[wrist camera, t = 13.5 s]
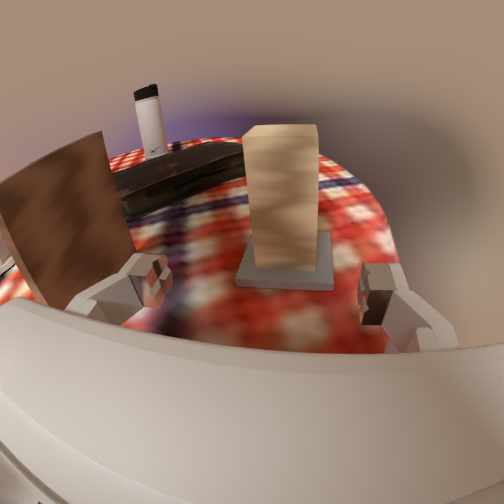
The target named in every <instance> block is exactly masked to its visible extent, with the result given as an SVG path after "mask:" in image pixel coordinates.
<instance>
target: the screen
mask: <svg viewBox="0 0 504 504" xmlns="http://www.w3.org/2000/svg"><path fill="white" fill-rule="evenodd" d="M0 232H1V235H2V237H3V239H4V241H5V243H6V245H7V248H8V250H9V252H10V254H11V256H12V258H13V259H14V261H15V263H16V265H17V267H18V269H19V271H20V272H21V274H22V276H23V278H24V280H25V281H26V283H27V285H28V286H29V288H30V290H31V291H32V293H33V295H34V296H35V298H36V299H37V301H38V302H39V303H41V304H44V305H47V306H50V307H53V308H56V309H59V310H63V311H64V310H65V308H66V307H67V306H68V304H69V303H70V302H71V301H72V299H73V298H74V297H75V296H76V295H77V294H79V293H81V292H82V291H84V290H86V289H88V288H89V287H91V286H93V285H95V284H97V283H98V282H100V281H102V280H104V279H106V278H108V277H109V276H111V275H113V274H117V273H118V272H119V271H120V270H121V268H122V267H123V266H124V265H125V264H126V262H127V261H128V260H129V259H130V258H131V256H132V255H133V254H134V253H137V251H136V248H135V245H134V243H133V240H132V237H131V234H130V231H129V228H128V225H127V222H126V219H125V216H124V213H123V210H122V207H121V203H120V200H119V197H118V193H117V190H116V186H115V183H114V179H113V176H112V172H111V168H110V164H109V160H108V157H107V153H106V148H105V144H104V139H103V135H102V131H100V132H96V133H93V134H90V135H87V136H85V137H83V138H81V139H78V140H76V141H74V142H72V143H70V144H67V145H65V146H63V147H61V148H59V149H57V150H55V151H53V152H51V153H50V154H48V155H45V156H43V157H41V158H40V159H38V160H36V161H34V162H32V163H31V164H29V165H27V166H25V167H24V168H22V169H20V170H19V171H17V172H15V173H14V174H12V175H10V176H9V177H7V178H6V179H4V180H3V181H1V182H0Z"/></svg>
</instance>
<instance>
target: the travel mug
mask: <svg viewBox="0 0 504 504" xmlns="http://www.w3.org/2000/svg"><path fill="white" fill-rule="evenodd" d="M134 98H135V103H136V104H135V106H136V111H137V117H138V123H139V127H140V133H141V138H142V143H143V147H144V153H145V157H146V161H148V160H150V159H153V158H155V157H159V156H162V155H165V154H169V152H168V146H167V141H166V135H165V130H164V124H163V119H162V112H161V106H160V100H159V95H158V88H157V85H156V84H152V85H149V86H148V87H144V88H142V89H139V90H137V91H135V92H134Z"/></svg>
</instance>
